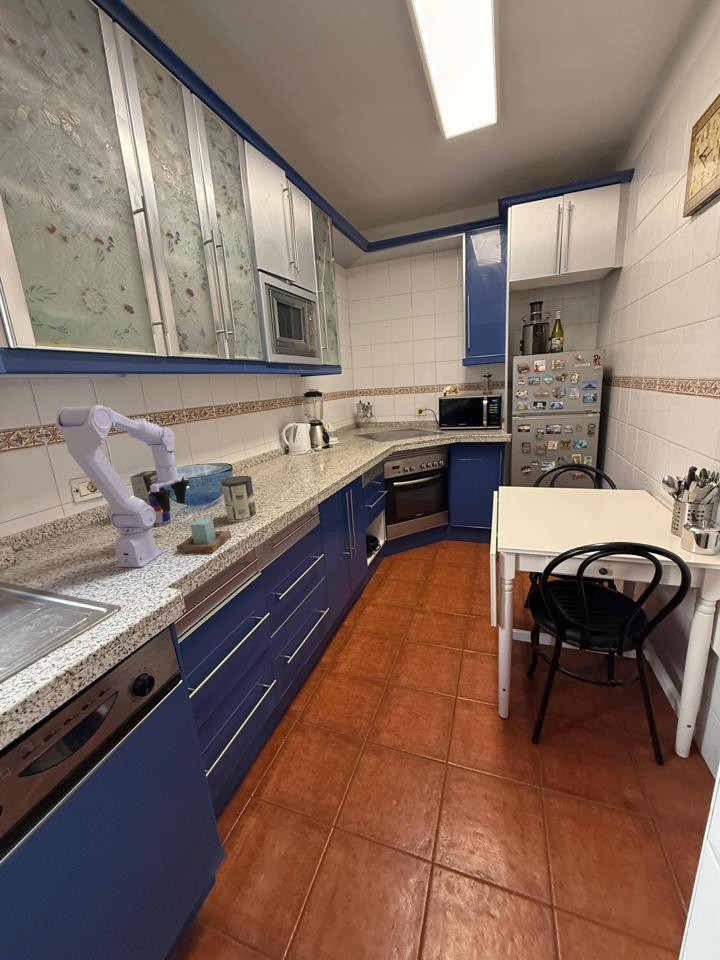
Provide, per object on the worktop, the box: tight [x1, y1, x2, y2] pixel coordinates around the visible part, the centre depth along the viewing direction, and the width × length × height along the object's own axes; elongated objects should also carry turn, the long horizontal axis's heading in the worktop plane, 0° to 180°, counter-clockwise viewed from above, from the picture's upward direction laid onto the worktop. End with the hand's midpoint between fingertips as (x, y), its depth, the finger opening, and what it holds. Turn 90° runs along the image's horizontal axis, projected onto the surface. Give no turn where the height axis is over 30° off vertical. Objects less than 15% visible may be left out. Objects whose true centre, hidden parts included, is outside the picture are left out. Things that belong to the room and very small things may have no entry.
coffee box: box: [129, 470, 158, 506], centre depth 141 cm, size 9×6×16 cm
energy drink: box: [148, 492, 172, 527], centre depth 130 cm, size 5×5×12 cm
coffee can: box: [220, 475, 258, 523], centre depth 132 cm, size 10×10×14 cm
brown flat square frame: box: [176, 530, 232, 554], centre depth 111 cm, size 11×11×2 cm
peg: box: [190, 518, 216, 544], centre depth 111 cm, size 4×4×7 cm
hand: (174, 506), depth 118 cm, fingers open, 7 cm apart
